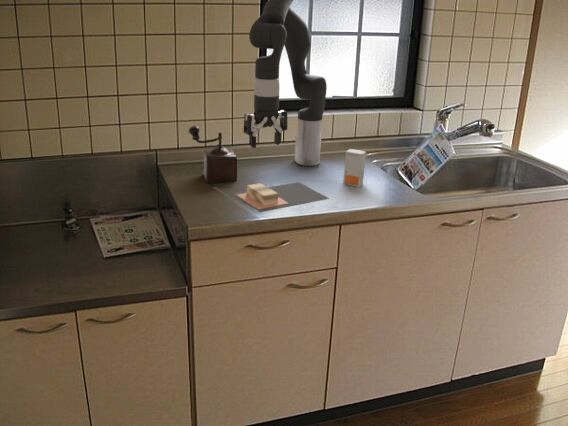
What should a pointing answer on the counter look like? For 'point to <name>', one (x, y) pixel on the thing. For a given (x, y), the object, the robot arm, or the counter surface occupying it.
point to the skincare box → (354, 167)
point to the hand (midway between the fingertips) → (265, 145)
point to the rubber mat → (285, 196)
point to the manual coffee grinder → (217, 160)
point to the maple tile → (262, 194)
